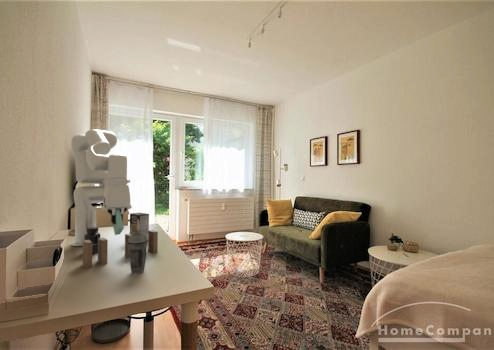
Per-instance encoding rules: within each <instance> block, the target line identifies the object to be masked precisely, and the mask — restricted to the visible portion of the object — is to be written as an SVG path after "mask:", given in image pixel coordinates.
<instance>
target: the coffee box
mask: <svg viewBox="0 0 494 350" xmlns="http://www.w3.org/2000/svg"><path fill="white" fill-rule="evenodd" d="M137 219H139V231H143V232H144V233H146V234H147V237H148V230H149V229H150V228H149V227H150V214H149V213H146V212H145V213H144V212H132V213H129V233H130V234H132V233H133V232H135V231H137Z"/></svg>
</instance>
